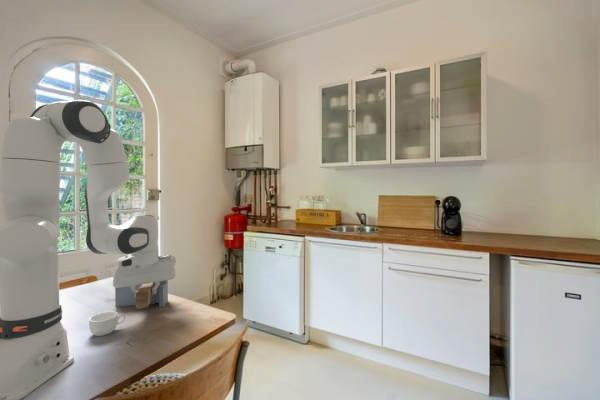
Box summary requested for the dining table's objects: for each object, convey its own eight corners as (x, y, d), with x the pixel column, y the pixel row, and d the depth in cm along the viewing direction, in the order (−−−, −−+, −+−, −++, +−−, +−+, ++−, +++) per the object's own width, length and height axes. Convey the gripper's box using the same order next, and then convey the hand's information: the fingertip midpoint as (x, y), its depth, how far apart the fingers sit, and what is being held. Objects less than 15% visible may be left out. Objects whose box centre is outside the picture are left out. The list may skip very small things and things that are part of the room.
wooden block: (147, 307, 99) (147, 289, 99) (136, 308, 98) (135, 290, 98) (154, 291, 114) (154, 276, 113) (144, 292, 113) (144, 277, 112)
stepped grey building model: (163, 307, 111) (162, 261, 111) (110, 310, 108) (109, 263, 108) (168, 301, 118) (167, 257, 117) (118, 303, 114) (117, 259, 114)
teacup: (91, 341, 85) (91, 324, 85) (86, 332, 91) (86, 316, 91) (128, 330, 93) (128, 314, 92) (122, 322, 98) (122, 307, 98)
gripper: (174, 253, 113) (174, 287, 113) (112, 259, 102) (113, 297, 102) (176, 256, 108) (177, 292, 108) (112, 263, 96) (113, 303, 97)
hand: (145, 295), depth 105 cm, fingers closed on wooden block, 4 cm apart
